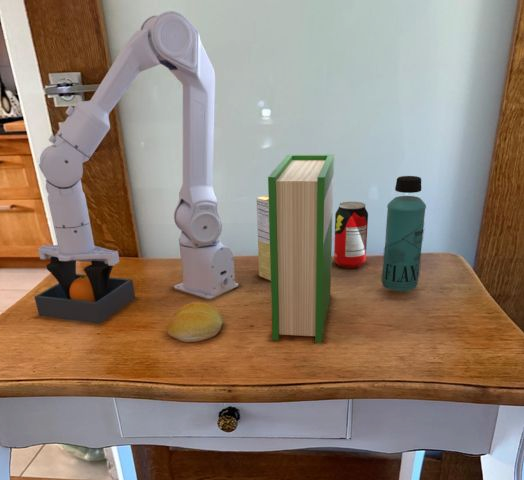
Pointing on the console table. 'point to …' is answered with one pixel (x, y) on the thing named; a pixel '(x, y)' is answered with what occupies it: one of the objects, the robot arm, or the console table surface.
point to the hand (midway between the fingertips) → (87, 300)
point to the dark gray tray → (85, 302)
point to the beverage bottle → (403, 237)
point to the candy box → (263, 237)
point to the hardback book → (301, 244)
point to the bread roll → (195, 322)
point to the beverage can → (350, 234)
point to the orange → (82, 290)
